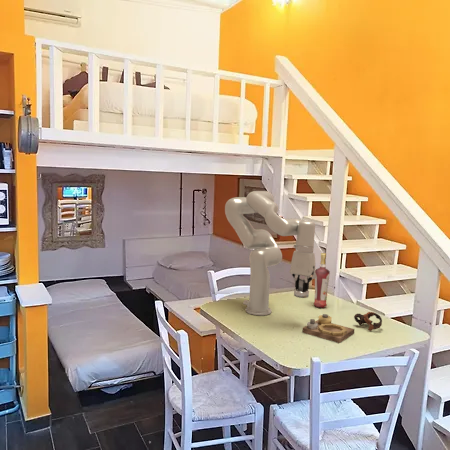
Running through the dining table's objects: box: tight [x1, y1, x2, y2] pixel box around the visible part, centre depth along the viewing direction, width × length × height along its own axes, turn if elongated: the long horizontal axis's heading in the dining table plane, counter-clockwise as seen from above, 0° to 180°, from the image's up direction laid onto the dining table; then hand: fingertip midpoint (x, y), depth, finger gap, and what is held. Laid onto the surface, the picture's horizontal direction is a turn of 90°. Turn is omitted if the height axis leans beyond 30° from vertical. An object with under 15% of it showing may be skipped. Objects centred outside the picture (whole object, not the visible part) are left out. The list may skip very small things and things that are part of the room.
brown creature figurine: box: [353, 311, 383, 332], centre depth 196 cm, size 12×10×8 cm
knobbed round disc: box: [293, 278, 310, 299], centre depth 193 cm, size 6×6×7 cm
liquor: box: [313, 252, 331, 309], centre depth 224 cm, size 7×7×28 cm
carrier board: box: [301, 313, 355, 344], centre depth 188 cm, size 17×15×6 cm
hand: (301, 289), depth 193 cm, fingers closed on knobbed round disc, 3 cm apart
